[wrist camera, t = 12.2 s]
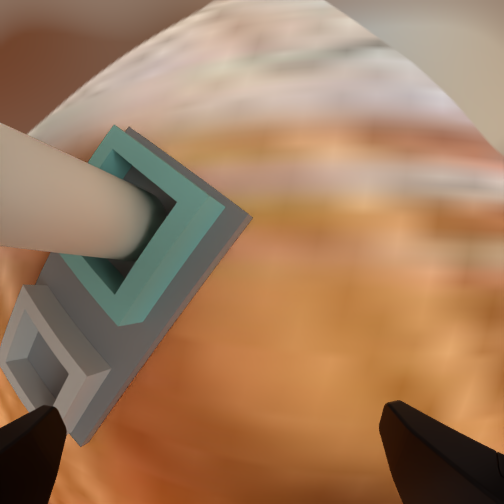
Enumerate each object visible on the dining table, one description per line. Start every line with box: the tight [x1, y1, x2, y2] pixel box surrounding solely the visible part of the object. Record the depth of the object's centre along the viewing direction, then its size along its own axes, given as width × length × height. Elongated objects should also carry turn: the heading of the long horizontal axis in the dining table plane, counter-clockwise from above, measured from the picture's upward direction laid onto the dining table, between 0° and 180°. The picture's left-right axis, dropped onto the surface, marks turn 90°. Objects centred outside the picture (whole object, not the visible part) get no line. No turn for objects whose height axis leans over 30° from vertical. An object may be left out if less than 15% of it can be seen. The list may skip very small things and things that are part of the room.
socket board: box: [0, 125, 253, 447], centre depth 19 cm, size 22×11×4 cm, turn 142°
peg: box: [0, 123, 166, 261], centre depth 12 cm, size 4×4×14 cm
